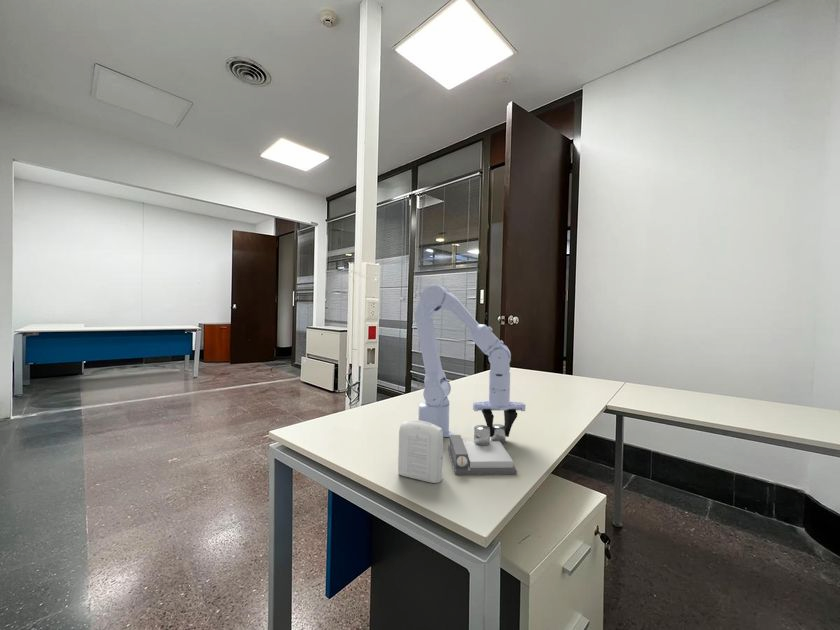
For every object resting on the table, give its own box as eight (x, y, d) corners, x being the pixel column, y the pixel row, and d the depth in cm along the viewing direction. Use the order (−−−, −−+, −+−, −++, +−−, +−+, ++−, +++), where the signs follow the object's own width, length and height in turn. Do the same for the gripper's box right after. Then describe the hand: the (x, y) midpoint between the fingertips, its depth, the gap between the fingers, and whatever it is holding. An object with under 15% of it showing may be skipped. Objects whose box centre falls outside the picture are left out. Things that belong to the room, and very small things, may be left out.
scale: (455, 474, 74) (455, 456, 74) (448, 449, 87) (448, 433, 87) (516, 474, 74) (516, 456, 74) (500, 448, 87) (500, 433, 87)
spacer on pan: (475, 446, 83) (476, 430, 83) (472, 439, 87) (472, 425, 87) (491, 446, 83) (491, 430, 83) (487, 439, 87) (487, 425, 87)
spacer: (493, 443, 91) (493, 429, 91) (489, 437, 95) (489, 424, 95) (507, 443, 91) (507, 429, 91) (503, 437, 95) (503, 424, 95)
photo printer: (445, 476, 73) (445, 421, 73) (439, 486, 69) (439, 428, 69) (403, 467, 77) (403, 415, 77) (395, 476, 73) (395, 421, 73)
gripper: (477, 391, 88) (476, 441, 89) (529, 391, 89) (528, 441, 89) (471, 385, 95) (471, 431, 96) (520, 385, 96) (519, 431, 96)
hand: (498, 435), depth 93 cm, fingers closed on spacer, 4 cm apart
